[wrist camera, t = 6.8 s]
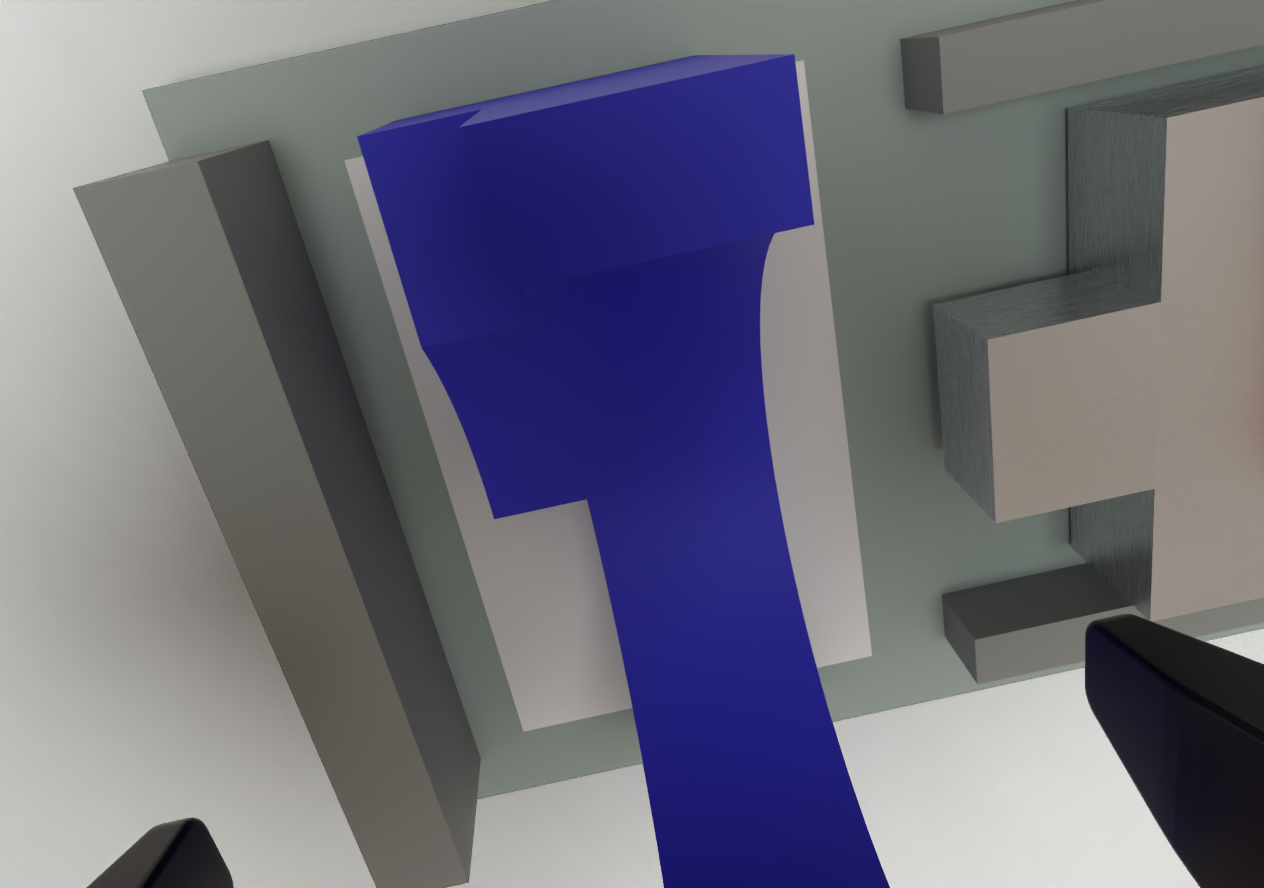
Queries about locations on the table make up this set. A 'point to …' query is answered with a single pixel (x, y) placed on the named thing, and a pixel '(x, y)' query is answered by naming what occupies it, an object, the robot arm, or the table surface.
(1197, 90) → the ram
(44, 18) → the table surface
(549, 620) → the grey fixture base
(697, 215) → the blue flanged block
